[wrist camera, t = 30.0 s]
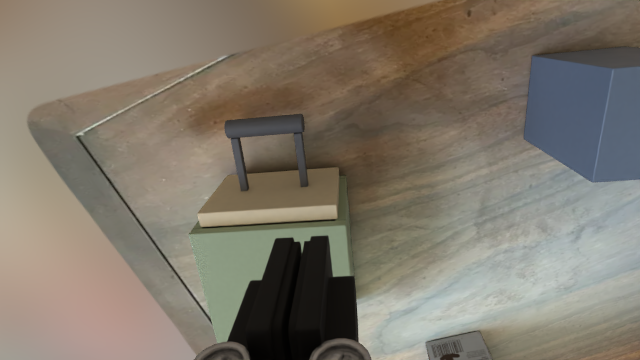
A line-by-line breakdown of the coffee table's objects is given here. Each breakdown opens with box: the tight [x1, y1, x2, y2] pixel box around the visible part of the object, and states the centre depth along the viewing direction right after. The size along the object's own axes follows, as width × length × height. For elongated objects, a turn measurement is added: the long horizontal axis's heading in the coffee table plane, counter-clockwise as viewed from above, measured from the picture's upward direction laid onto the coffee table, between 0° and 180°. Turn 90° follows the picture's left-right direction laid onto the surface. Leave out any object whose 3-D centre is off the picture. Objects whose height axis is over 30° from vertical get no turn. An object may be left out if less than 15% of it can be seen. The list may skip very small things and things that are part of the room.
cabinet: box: [189, 175, 354, 343], centre depth 34 cm, size 15×12×10 cm
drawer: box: [197, 114, 340, 228], centre depth 32 cm, size 19×10×8 cm, turn 6°
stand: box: [524, 47, 640, 182], centre depth 27 cm, size 7×7×10 cm
